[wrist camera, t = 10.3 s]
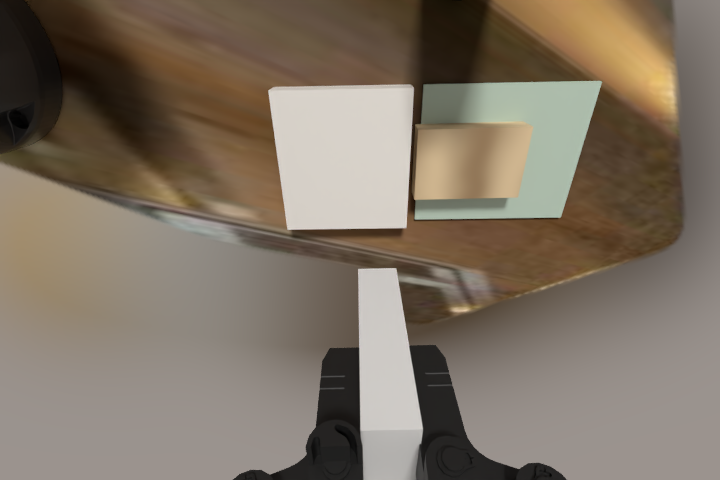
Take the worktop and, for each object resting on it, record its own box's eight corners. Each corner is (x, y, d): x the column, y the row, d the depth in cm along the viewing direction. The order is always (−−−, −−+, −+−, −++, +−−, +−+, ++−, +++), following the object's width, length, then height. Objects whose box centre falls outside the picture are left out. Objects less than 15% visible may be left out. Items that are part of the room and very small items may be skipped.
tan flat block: (411, 190, 33) (414, 199, 31) (414, 124, 30) (418, 129, 28) (509, 188, 32) (518, 197, 31) (523, 121, 29) (533, 126, 28)
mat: (414, 218, 34) (414, 219, 34) (423, 84, 28) (423, 84, 28) (559, 216, 34) (560, 217, 34) (599, 80, 28) (602, 81, 28)
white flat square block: (291, 219, 35) (287, 229, 33) (273, 86, 28) (268, 90, 27) (404, 218, 34) (406, 228, 33) (410, 84, 28) (414, 87, 27)
